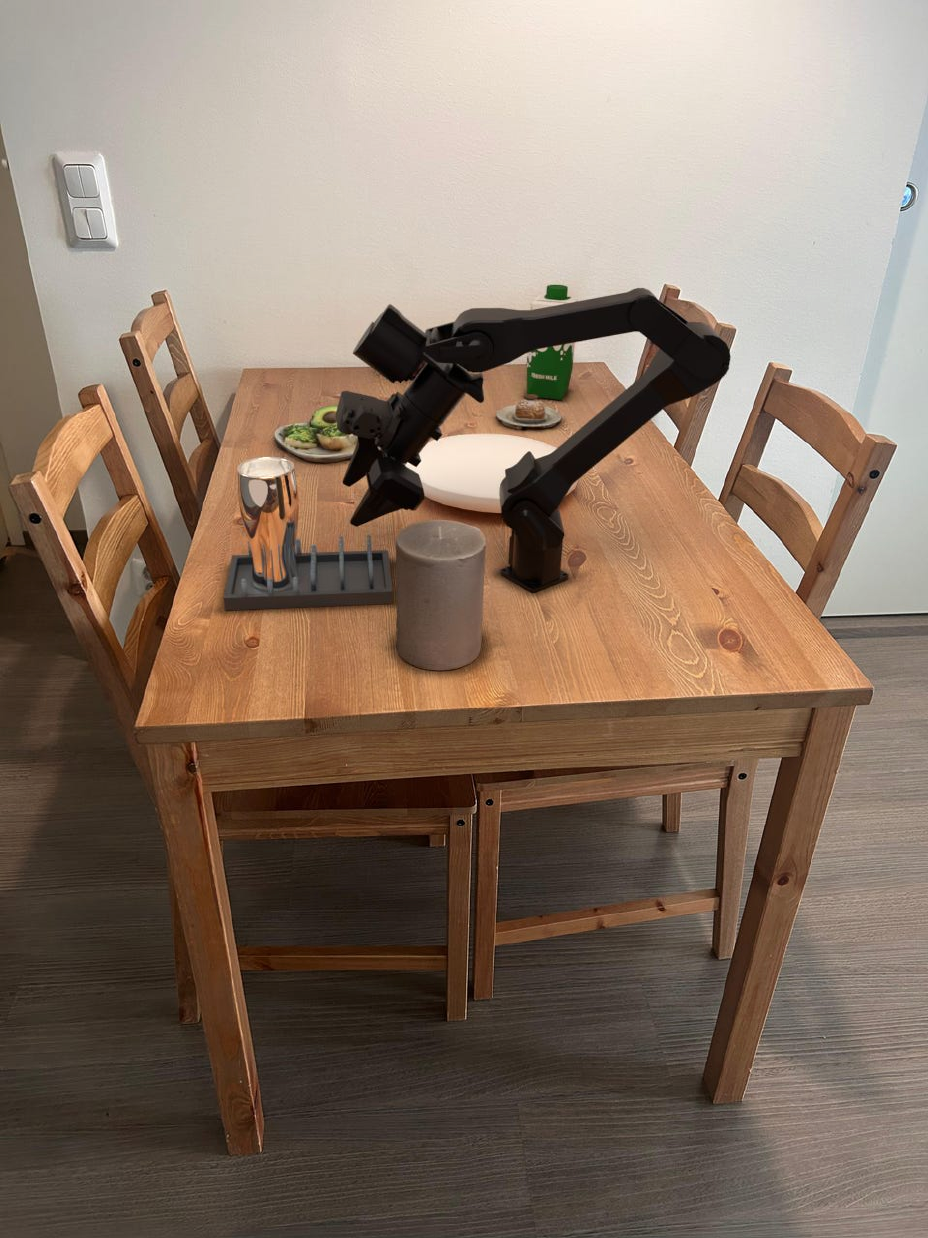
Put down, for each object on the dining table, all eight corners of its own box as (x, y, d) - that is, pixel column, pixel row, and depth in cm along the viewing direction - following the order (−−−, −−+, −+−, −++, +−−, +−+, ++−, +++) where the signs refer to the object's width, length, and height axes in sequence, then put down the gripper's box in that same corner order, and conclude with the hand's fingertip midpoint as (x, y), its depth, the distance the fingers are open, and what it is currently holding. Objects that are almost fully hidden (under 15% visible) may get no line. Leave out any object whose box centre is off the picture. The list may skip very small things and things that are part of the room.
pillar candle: (378, 646, 105) (375, 525, 97) (441, 616, 111) (442, 500, 103) (437, 682, 99) (438, 557, 91) (500, 648, 105) (506, 528, 97)
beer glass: (236, 579, 116) (223, 466, 108) (282, 561, 120) (272, 451, 112) (269, 599, 112) (258, 483, 104) (315, 580, 116) (308, 467, 108)
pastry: (558, 434, 165) (560, 409, 163) (491, 429, 167) (492, 404, 164) (563, 412, 176) (565, 388, 173) (500, 408, 177) (501, 384, 175)
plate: (429, 421, 155) (588, 436, 151) (427, 458, 158) (583, 475, 154) (383, 465, 130) (572, 485, 126) (382, 509, 133) (567, 530, 129)
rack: (388, 561, 122) (387, 527, 120) (392, 603, 113) (392, 567, 110) (233, 567, 120) (229, 532, 117) (225, 610, 111) (220, 573, 108)
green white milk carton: (573, 389, 188) (582, 286, 177) (564, 402, 180) (573, 295, 170) (531, 384, 190) (537, 282, 179) (520, 397, 182) (526, 291, 172)
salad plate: (408, 456, 155) (408, 429, 152) (309, 475, 146) (307, 448, 144) (358, 421, 169) (357, 396, 166) (264, 437, 160) (262, 411, 158)
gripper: (359, 336, 111) (288, 435, 117) (378, 408, 97) (297, 516, 103) (432, 385, 117) (361, 476, 123) (460, 458, 102) (378, 558, 109)
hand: (349, 504), depth 114 cm, fingers open, 9 cm apart
